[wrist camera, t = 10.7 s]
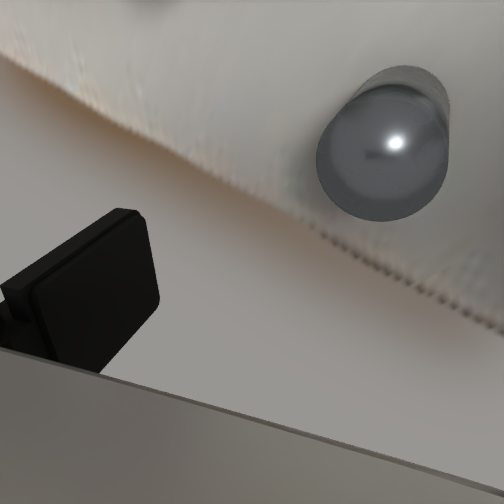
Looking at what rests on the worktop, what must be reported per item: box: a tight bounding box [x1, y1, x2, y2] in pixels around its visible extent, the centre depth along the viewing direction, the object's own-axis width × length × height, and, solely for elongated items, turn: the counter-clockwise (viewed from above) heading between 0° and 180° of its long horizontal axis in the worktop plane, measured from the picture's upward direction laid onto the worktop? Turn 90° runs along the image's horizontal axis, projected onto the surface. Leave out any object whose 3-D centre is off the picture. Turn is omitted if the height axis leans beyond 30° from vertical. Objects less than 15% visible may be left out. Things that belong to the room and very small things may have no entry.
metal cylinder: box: [316, 65, 450, 222], centre depth 20 cm, size 5×5×8 cm
